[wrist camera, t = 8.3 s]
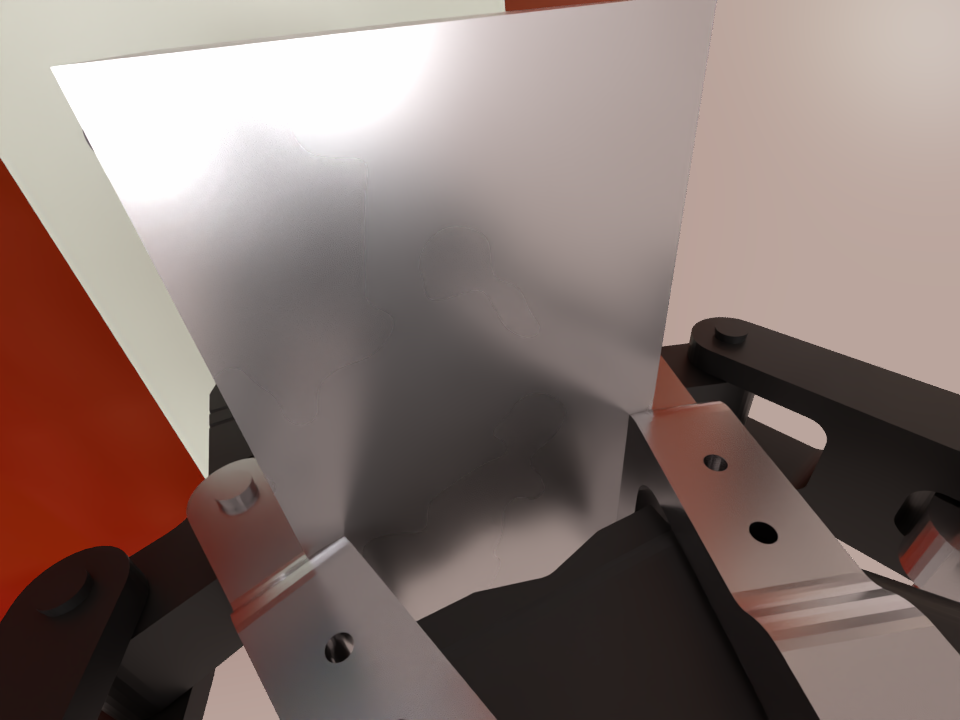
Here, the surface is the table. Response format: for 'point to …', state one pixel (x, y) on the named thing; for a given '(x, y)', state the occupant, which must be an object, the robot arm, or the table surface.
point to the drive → (421, 263)
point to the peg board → (85, 185)
